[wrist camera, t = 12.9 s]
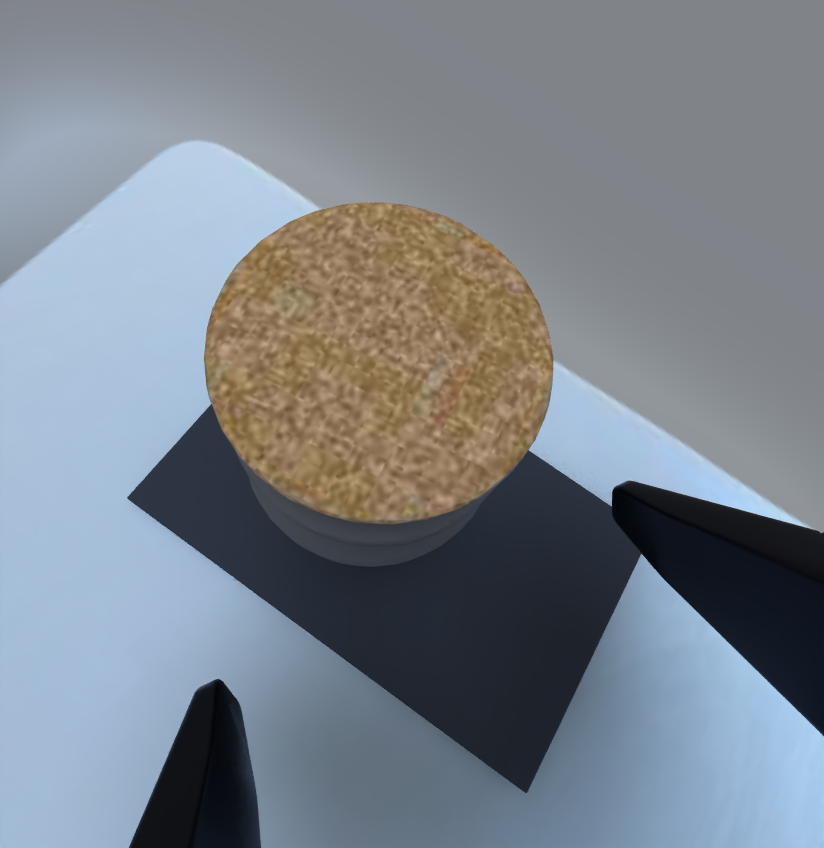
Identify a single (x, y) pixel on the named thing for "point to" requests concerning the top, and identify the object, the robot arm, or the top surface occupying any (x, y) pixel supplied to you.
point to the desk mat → (429, 594)
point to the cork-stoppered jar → (376, 377)
